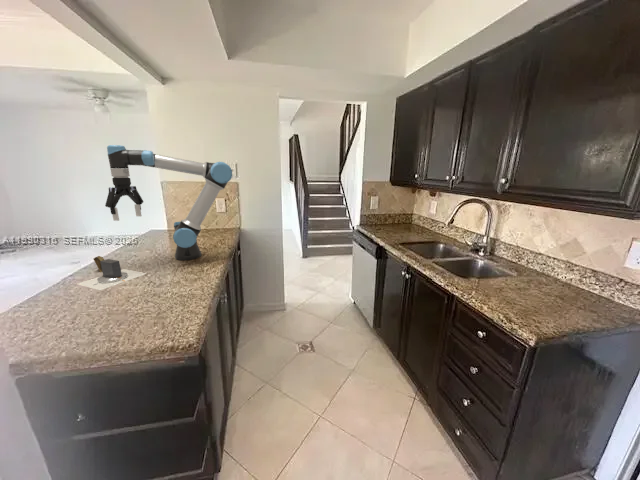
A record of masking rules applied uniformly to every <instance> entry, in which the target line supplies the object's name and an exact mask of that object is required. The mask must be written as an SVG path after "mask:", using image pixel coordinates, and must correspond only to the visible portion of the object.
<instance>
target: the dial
mask: <svg viewBox="0 0 640 480" xmlns="http://www.w3.org/2000/svg"><path fill="white" fill-rule="evenodd" d="M100 262H101V267H102V272H101V273H102V275H101V276H98V277H99V278H98V279H97V281H98V282H99V283H112V282H117V281H120V280H123V279H125V278H127V277H128V274H127V273H126V272H121V270H122V268H121V263H120V261H119V260H116V259H110V258H107V259H104V260H103V261H100Z"/></svg>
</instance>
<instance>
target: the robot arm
mask: <svg viewBox="0 0 640 480" xmlns="http://www.w3.org/2000/svg"><path fill="white" fill-rule="evenodd" d="M106 149H107V151H106V152H107V157H108V162H109V167H110V173H111V174H110V175H111V177H112V178H111V180H112V184H113V186H111V187H108V193H107V197H106V202H105V207H106V208H109V209H110V214H111V215H112V219H113V221H115V222H118V221H120V217H119V211H118V207H117V204H118V203H119V201H120V199H121V198H122V197H124V196H127V197H128V198H129V199H130V200H132V202H134V211H135V215H136V217H142V204H143V203H144V200H143V198H142V196H141V194H140V192H139V191H138V189H137V187H136V185H132V182H131V178H130V169H129V166H143V167H148V168H149V167H150V168H155V169H161V170H167V171H173V172H179V173H184V174H191V175H195V176H201V177H203V178H204V179H205V180H204V181H205V184H204V185H203V187H202V189H201V190H200V192H199V195H198V196H197V198H196V200H195V202H194V203H193V205H192V207H191V208H190V210H189V212H188V213H187V216H186V217H185V218H184V219H181V221H174V223H173V228H174V232H173V236H172V238H173V241H174V243H175V244H176V250H175V253H174V259H175V260H176V261H177V260H178V261H189V260H194V259H198V258H200V257H202V251H201V249H200V247H199V245H198V240H197V237H198V236H199V234H200V232H201V230H202V228H201V225H202V223H203V222H204V220H205V218H206V216H207V214H208V213H209V211H210V209H211V207H212V205H213V204H214V202H215V200H216V198H217V197H218V195H219V193H220V191H222V190H225V188H226V186H227V184H228V183H229V182H230V181H231V179H232V178H233V169H232V168H231V167H230V165H229V164H228V163H226V162H224V161H216V162H208V161H205V162H199V161H194V160H188V159H183V158H179V157H173V156H172V157H171V156H169V155H162V154H158V153H154V152H153V151H152V150H146V149H144V150H141V149H137V150H135V149H133V150H132V149H127V148H126V147H125V145H117V144H110V145H107V147H106Z"/></svg>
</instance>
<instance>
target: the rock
mask: <svg viewBox="0 0 640 480" xmlns="http://www.w3.org/2000/svg"><path fill="white" fill-rule="evenodd" d="M103 260H105V258H103V256H100V255H98V256H95V257H94V258H93V261H94V262H95V263H94V264H95V265H96V266H97V268H98V270H99V272H100V273H103V272H102V267H101V262H100V261H103Z"/></svg>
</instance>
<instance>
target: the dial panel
mask: <svg viewBox="0 0 640 480" xmlns="http://www.w3.org/2000/svg"><path fill="white" fill-rule="evenodd" d="M121 272H126V273H127V274H128V277H127V278H125V279H123V280H120V281H117V282H112V283H99V282H98V281H97V279H98V278H99V277H100V276H97V277H94V278H92V279H88V280H84V281H81V282H77V283H76V285H78V286H82V287H85V288H90V289H93V290H97V291H102V290H105V289H108V288H110V287H115V286H116V285H119V284H122V283H125V282H128V281H131V280H133V279H136V278H139V277H141V276H144V275H147V273H146V272H140V271H135V270H131V269H125V268H123V269H122V268H121Z"/></svg>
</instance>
